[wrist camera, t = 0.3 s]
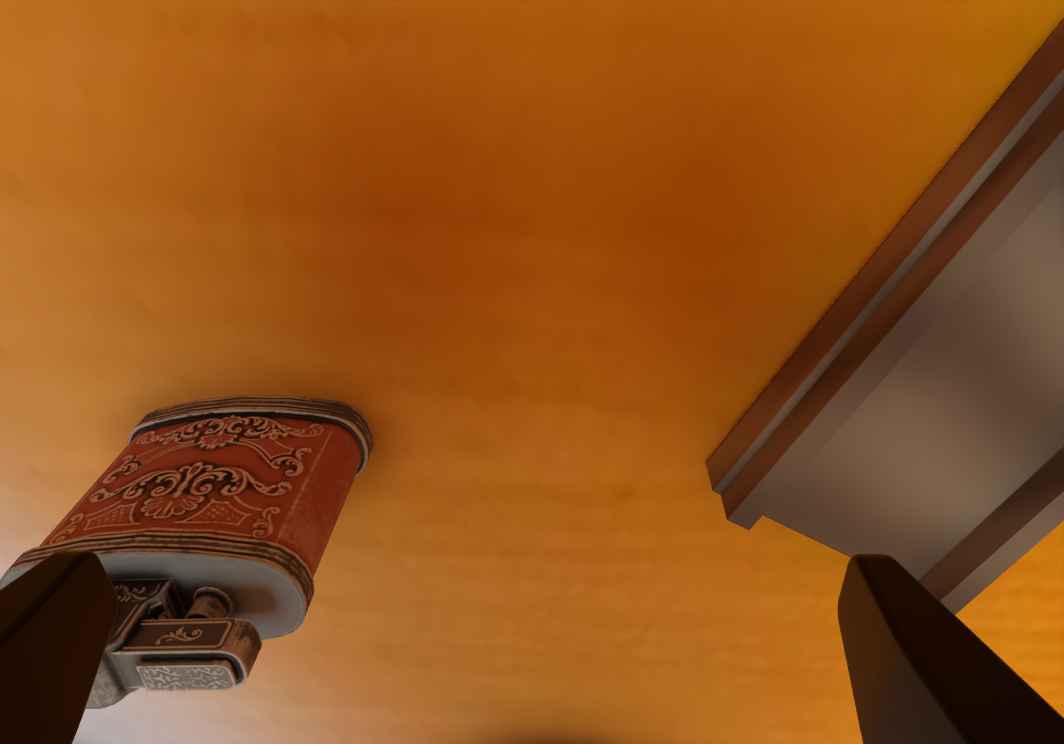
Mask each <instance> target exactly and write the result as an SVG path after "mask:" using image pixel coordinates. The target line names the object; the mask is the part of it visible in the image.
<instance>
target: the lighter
mask: <svg viewBox="0 0 1064 744" xmlns="http://www.w3.org/2000/svg"><path fill="white" fill-rule="evenodd" d="M372 447H373V432H372V430H371V427H370V425H369V422H368V421H367V420H366V418H365V417H364V416H363V415H362V414H361V412H359V411H358V410H356V409H355V408H353V407H352V406H350V405H348V404H345V403H341V402H338V401H329V400H321V399H312V398H304V397H296V396H261V395H241V396H232V397H223V398H214V399H205V400H197V401H192V402H188V403H184V404H179V405H175V406H171V407H166V408H162V409H158V410H155V411H153V412H151V413H149V414H147V415H146V416H145V418H144V419H143V420H142V421H141V422H140V423H139V424H138V425H137V426H136V428H135V429H134V430H133V431H132V433H131V434H130V436H129V439H128V445H127V447H126V448H125V449H124V450H123V452H122V453H121V454H120V455H119V456H118V457H117V458H116V460H115V461H114V462H113V463H112V464H111V465H110V466H109V468H108V469H107V470H106V471H105V472H104V473H103V474H102V475H101V477H100V478H99V479H98V480H97V481H96V482H95V483H94V485H93V486H92V487H91V488H90V489H89V490H88V491H87V493H86V494H85V495H84V496H83V497H82V498H81V499H80V500H79V502H78V503H77V504H76V505H75V506H74V507H73V508H72V510H71V511H70V512H69V513H68V514H67V515H66V516H65V518H64V519H63V520H62V521H61V522H60V523H59V524H58V525H57V527H56V528H55V529H54V530H53V531H52V532H51V533H50V535H49V536H48V537H47V538H46V539H45V540H44V541H43V543H42V544H41V545H40V546H39V547H36V548H33V549H30V550H28V551H26V552H24V553H23V554H22V555H21V556H20V557H19V558H18V559H17V560H16V561H15V563H14V564H13V565H12V566H11V567H10V568H9V569H8V570H7V572H6V573H5V574H4V575H3V577H2V578H1V580H0V589H2V588H3V587H5V586H6V585H8V584H9V583H11V582H12V581H13V580H15V579H16V578H18V577H19V576H21V575H22V574H24V573H25V572H26V571H28V570H29V569H31V568H32V567H34V566H35V565H37V564H38V563H39V562H41V561H42V560H44V559H45V558H47V557H48V556H50V555H51V554H53V553H55V552H57V551H62V550H88V551H92V552H93V553H95V554H96V555H97V556H98V557H99V559H100V561H101V563H102V565H103V567H104V569H105V570H106V572H107V574H108V576H109V578H110V580H111V582H112V584H113V586H114V588H115V590H116V592H117V595H118V612H117V616H116V619H115V622H114V625H113V628H112V631H111V634H110V637H109V640H108V643H107V646H106V649H105V651H104V654H103V657H102V660H101V663H100V666H99V669H98V672H97V675H96V678H95V681H94V684H93V687H92V690H91V693H90V696H89V699H88V702H87V705H86V708H85V709H101V708H105V707H108V706H111V705H114V704H115V703H117V702H119V701H120V700H122V699H123V698H124V697H125V696H126V695H128V694H129V693H131V692H133V691H135V690H137V689H139V688H146V690H147V691H194V690H229V689H233V688H234V687H235V686H240V685H242V684H244V683H245V682H246V680H247V678H248V676H249V673H250V671H251V669H252V667H253V665H254V662H255V660H256V658H257V656H258V653H259V651H260V649H261V647H262V641H261V640H264V639H270V638H276V637H282V636H284V635H287V634H290V633H292V632H294V631H295V630H296V629H297V628H298V627H299V626H300V625H301V624H302V622H303V620H304V617H305V615H306V612H307V610H308V607H309V605H310V603H311V600H312V597H313V594H314V591H315V590H314V580H313V577H314V575H315V572H316V570H317V567H318V565H319V563H320V560H321V558H322V555H323V553H324V551H325V548H326V546H327V543H328V541H329V538H330V536H331V534H332V531H333V529H334V526H335V524H336V521H337V519H338V517H339V514H340V512H341V509H342V507H343V504H344V502H345V500H346V497H347V495H348V492H349V490H350V487H351V485H352V483H353V480H354V478H356V477H357V476H358V475H359V474H360V473H361V472H362V471H363V470H364V468H365V465H366V463H367V460H368V458H369V455H370V453H371V450H372Z"/></svg>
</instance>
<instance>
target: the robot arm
mask: <svg viewBox="0 0 1064 744" xmlns="http://www.w3.org/2000/svg"><path fill="white" fill-rule="evenodd" d="M117 612H118V595H117V592H116V590H115V588H114V586H113V584H112V582H111V580H110V578H109V576H108V574H107V572H106V570H105V569H104V567H103V565H102V563H101V561H100V559H99V557H98V556H97V555H96V554H95V553H93V552H92V551H88V550H62V551H57V552H55V553H53V554H51V555H50V556H48V557H47V558H45V559H44V560H42V561H41V562H39V563H38V564H37V565H35V566H34V567H32V568H31V569H29V570H28V571H26V572H25V573H24V574H22V575H21V576H19V577H18V578H16V579H15V580H13V581H12V582H11V583H9V584H8V585H6V586H5V587H3V588H2V589H0V744H72V742H73V739H74V737H75V735H76V732H77V729H78V727H79V724H80V721H81V719H82V716H83V713H84V710H85V708H86V705H87V702H88V699H89V696H90V693H91V690H92V687H93V684H94V681H95V678H96V675H97V672H98V669H99V666H100V663H101V660H102V657H103V654H104V651H105V649H106V646H107V643H108V640H109V637H110V634H111V631H112V628H113V625H114V622H115V619H116V616H117ZM838 619H839V625H840V630H841V635H842V640H843V645H844V650H845V655H846V660H847V665H848V670H849V675H850V680H851V686H852V691H853V696H854V701H855V706H856V711H857V716H858V721H859V726H860V731H861V735H862V740H863V744H1064V718H1063V717H1062V716H1061V715H1060V714H1059V713H1058V712H1057V711H1056V710H1055V709H1054V708H1053V707H1052V706H1050V705H1049V704H1048V703H1047V702H1046V701H1045V700H1044V699H1043V698H1042V697H1041V696H1040V695H1039V694H1038V693H1037V692H1036V691H1035V690H1034V689H1032V688H1031V687H1030V686H1029V685H1028V684H1027V683H1026V682H1025V681H1024V680H1023V679H1022V678H1021V677H1020V676H1019V675H1018V674H1017V673H1015V672H1014V671H1013V670H1012V669H1011V668H1010V667H1009V666H1008V665H1007V664H1006V663H1005V662H1004V661H1003V660H1002V659H1001V658H1000V657H998V656H997V655H996V654H995V653H994V652H993V651H992V650H991V649H990V648H989V647H988V646H987V645H986V644H985V643H984V642H983V641H981V640H980V639H979V638H978V637H977V636H976V635H975V634H974V633H973V632H972V631H971V630H970V629H969V628H968V627H967V626H966V625H964V624H963V623H962V622H961V621H960V620H959V619H958V618H957V617H956V616H955V615H954V614H953V613H952V612H951V611H950V610H949V609H947V608H946V607H945V606H944V605H943V604H942V603H941V602H940V601H939V600H938V599H937V598H936V597H935V596H934V595H933V594H932V593H931V592H929V591H928V590H927V589H926V588H925V587H924V586H923V585H922V584H921V583H920V582H919V581H918V580H917V579H916V578H915V577H914V576H912V575H911V574H910V573H909V572H908V571H907V570H906V569H905V568H904V567H903V566H902V565H901V564H900V563H899V562H898V561H896V560H895V559H894V558H892V557H891V556H889V555H885V554H856V555H854V556H852V557H851V559H850V560H849V563H848V566H847V570H846V574H845V577H844V581H843V585H842V589H841V592H840V596H839V600H838Z"/></svg>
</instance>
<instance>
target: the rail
mask: <svg viewBox="0 0 1064 744" xmlns="http://www.w3.org/2000/svg"><path fill="white" fill-rule="evenodd" d="M706 465H707V469H708V473H709V477H710V481H711V485H712V490H713V491H714V492H716V493H718V494H720V495H721V498H722V502H723V505H724V509H725V513H726V517H727V520H729V521H731V522H733V523H735V524H737V525H739V526H741V527H743V528H745V529H748V530H750V529H751V528H752V526H753V525H754V524H755V523H756V522H757V521H758V520H759V519H760V517H761V516H762V515H764V516H766V517H768V518H770V519H772V520H774V521H776V522H778V523H780V524H782V525H784V526H787V527H789V528H791V529H793V530H795V531H797V532H799V533H801V534H803V535H805V536H807V537H809V538H811V539H814V540H816V541H818V542H820V543H822V544H824V545H826V546H828V547H830V548H832V549H834V550H836V551H839V552H841V553H843V554H845V555H847V556H849V557H852V556H854V555H856V554H885V555H889V556H891V557H892V558H894V559H895V560H896V561H898V562H899V563H900V564H901V565H902V566H903V567H904V568H905V569H906V570H907V571H908V572H909V573H910V574H911V575H912V576H914V577H915V578H916V579H917V580H918V581H919V582H920V583H921V584H922V585H923V586H924V587H925V588H926V589H927V590H928V591H929V592H931V593H932V594H933V595H934V596H935V597H936V598H937V599H938V600H939V601H940V602H941V603H942V604H943V605H944V606H945V607H946V608H947V609H949V610H950V611H951V612H952V613H953V614H954V615H955V614H956V613H958V612H959V611H960V610H961V609H962V608H963V607H965V606H966V605H967V604H968V603H969V602H970V601H971V600H973V599H974V598H975V597H976V596H977V595H978V594H979V593H981V592H982V591H983V590H984V589H985V588H986V587H988V586H989V585H990V584H991V583H992V582H993V581H994V580H996V579H997V578H998V577H999V576H1000V575H1001V574H1003V573H1004V572H1005V571H1006V570H1007V569H1008V568H1009V567H1011V566H1012V565H1013V564H1014V563H1015V562H1016V561H1018V560H1019V559H1020V558H1021V557H1022V556H1023V555H1024V554H1026V553H1027V552H1028V551H1029V550H1030V549H1031V548H1032V547H1034V546H1035V545H1036V544H1037V543H1038V542H1039V541H1041V540H1042V539H1043V538H1044V537H1045V536H1046V535H1047V534H1049V533H1050V532H1051V531H1052V530H1053V529H1054V528H1056V527H1057V526H1058V525H1059V524H1060V523H1061V522H1062V521H1064V19H1063V21H1062V22H1061V23H1060V24H1059V25H1058V27H1057V28H1056V29H1055V30H1054V32H1053V33H1052V34H1051V35H1050V37H1049V38H1048V39H1047V40H1046V42H1045V43H1044V44H1043V45H1042V47H1041V48H1040V49H1039V50H1038V52H1037V53H1036V54H1035V55H1034V57H1033V58H1032V59H1031V60H1030V61H1029V63H1028V64H1027V65H1026V66H1025V68H1024V69H1023V70H1022V71H1021V73H1020V74H1019V75H1018V76H1017V78H1016V79H1015V80H1014V81H1013V83H1012V84H1011V85H1010V86H1009V88H1008V89H1007V90H1006V91H1005V93H1004V94H1003V95H1002V96H1001V97H1000V99H999V100H998V101H997V102H996V104H995V105H994V106H993V107H992V109H991V110H990V111H989V112H988V114H987V115H986V116H985V117H984V119H983V120H982V121H981V122H980V124H979V125H978V126H977V127H976V129H975V130H974V131H973V132H972V133H971V135H970V136H969V137H968V138H967V140H966V141H965V142H964V143H963V145H962V146H961V147H960V148H959V150H958V151H957V152H956V153H955V155H954V156H953V157H952V158H951V160H950V161H949V162H948V163H947V165H946V166H945V167H944V168H943V169H942V171H941V172H940V173H939V174H938V176H937V177H936V178H935V179H934V181H933V182H932V183H931V184H930V186H929V187H928V188H927V189H926V191H925V192H924V193H923V194H922V196H921V197H920V198H919V199H918V201H917V202H916V203H915V204H914V205H913V207H912V208H911V209H910V210H909V212H908V213H907V214H906V215H905V217H904V218H903V219H902V220H901V222H900V223H899V224H898V225H897V227H896V228H895V229H894V230H893V232H892V233H891V234H890V235H889V237H888V238H887V239H886V240H885V242H884V243H883V244H882V245H881V246H880V248H879V249H878V250H877V251H876V253H875V254H874V255H873V256H872V258H871V259H870V260H869V261H868V263H867V264H866V265H865V266H864V268H863V269H862V270H861V271H860V273H859V274H858V275H857V276H856V278H855V279H854V280H853V281H852V282H851V284H850V285H849V286H848V287H847V289H846V290H845V291H844V292H843V294H842V295H841V296H840V297H839V299H838V300H837V301H836V302H835V304H834V305H833V306H832V307H831V309H830V310H829V311H828V312H827V314H826V315H825V316H824V317H823V318H822V320H821V321H820V322H819V323H818V325H817V326H816V327H815V328H814V330H813V331H812V332H811V333H810V335H809V336H808V337H807V338H806V340H805V341H804V342H803V343H802V345H801V346H800V347H799V348H798V350H797V351H796V352H795V353H794V354H793V356H792V357H791V358H790V359H789V361H788V362H787V363H786V364H785V366H784V367H783V368H782V369H781V371H780V372H779V373H778V374H777V376H776V377H775V378H774V379H773V381H772V382H771V383H770V384H769V386H768V387H767V388H766V389H765V390H764V392H763V393H762V394H761V395H760V397H759V398H758V399H757V400H756V402H755V403H754V404H753V405H752V407H751V408H750V409H749V410H748V412H747V413H746V414H745V415H744V417H743V418H742V419H741V420H740V422H739V423H738V424H737V425H736V426H735V428H734V429H733V430H732V431H731V433H730V434H729V435H728V436H727V438H726V439H725V440H724V441H723V443H722V444H721V445H720V446H719V448H718V449H717V450H716V451H715V453H714V454H713V455H712V456H711V458H710V459H709V460H708V461H707V462H706Z"/></svg>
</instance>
